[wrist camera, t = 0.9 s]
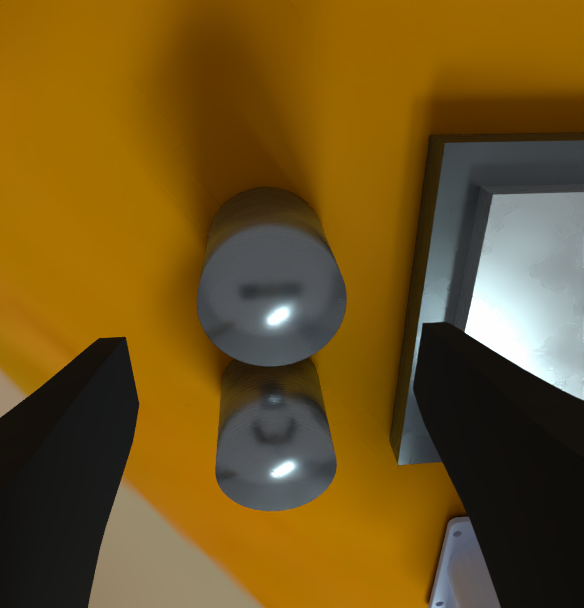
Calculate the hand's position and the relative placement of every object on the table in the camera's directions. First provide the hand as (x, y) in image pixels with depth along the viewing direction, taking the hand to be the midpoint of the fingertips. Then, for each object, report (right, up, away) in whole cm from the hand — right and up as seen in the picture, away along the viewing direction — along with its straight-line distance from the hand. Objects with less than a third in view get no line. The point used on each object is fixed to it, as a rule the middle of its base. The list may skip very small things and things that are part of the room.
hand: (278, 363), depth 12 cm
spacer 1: (-1, +4, +7) cm, 8 cm away
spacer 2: (-1, -2, +10) cm, 11 cm away
